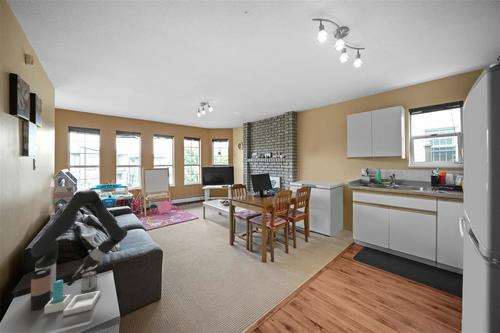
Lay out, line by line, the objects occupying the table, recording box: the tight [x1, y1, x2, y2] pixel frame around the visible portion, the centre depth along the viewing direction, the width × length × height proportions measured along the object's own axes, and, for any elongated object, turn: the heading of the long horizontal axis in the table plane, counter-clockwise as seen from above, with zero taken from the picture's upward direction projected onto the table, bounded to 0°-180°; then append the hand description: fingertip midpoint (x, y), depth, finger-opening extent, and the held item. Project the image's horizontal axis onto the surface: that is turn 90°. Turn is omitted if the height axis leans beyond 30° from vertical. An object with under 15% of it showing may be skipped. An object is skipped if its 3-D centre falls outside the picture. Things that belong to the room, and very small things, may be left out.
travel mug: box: [30, 268, 51, 311], centre depth 109 cm, size 8×8×20 cm
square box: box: [44, 293, 72, 315], centre depth 107 cm, size 8×8×5 cm
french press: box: [80, 249, 98, 292], centre depth 126 cm, size 10×12×25 cm
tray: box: [62, 290, 101, 317], centre depth 109 cm, size 12×14×4 cm
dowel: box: [52, 279, 64, 304], centre depth 108 cm, size 4×4×14 cm
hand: (70, 281), depth 110 cm, fingers open, 8 cm apart
